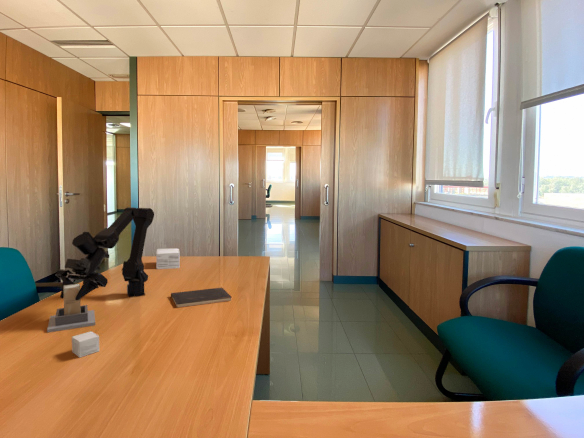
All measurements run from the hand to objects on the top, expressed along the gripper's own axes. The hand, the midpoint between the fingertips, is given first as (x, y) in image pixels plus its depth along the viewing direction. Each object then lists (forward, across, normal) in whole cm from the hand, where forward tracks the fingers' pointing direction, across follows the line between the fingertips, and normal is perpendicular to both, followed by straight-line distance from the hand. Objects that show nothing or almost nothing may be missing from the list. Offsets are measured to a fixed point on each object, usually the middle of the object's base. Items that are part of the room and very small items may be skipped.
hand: (68, 298), depth 127 cm
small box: (+18, +23, -5) cm, 29 cm away
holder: (+5, 0, +7) cm, 9 cm away
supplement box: (-56, -20, +70) cm, 92 cm away
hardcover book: (-20, +30, +35) cm, 50 cm away
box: (+4, 0, +6) cm, 7 cm away
